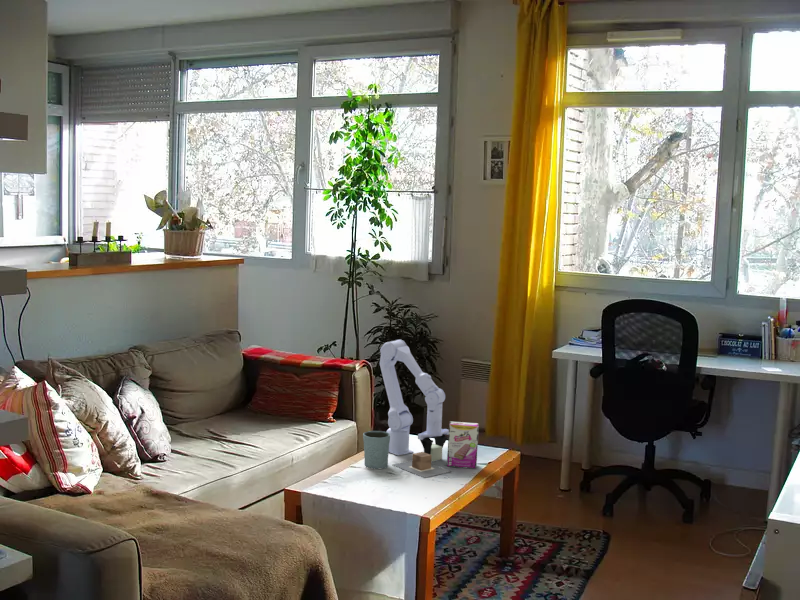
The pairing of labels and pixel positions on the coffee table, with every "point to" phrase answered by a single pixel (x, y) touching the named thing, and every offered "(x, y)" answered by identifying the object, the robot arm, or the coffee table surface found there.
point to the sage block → (436, 452)
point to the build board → (423, 473)
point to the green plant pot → (376, 449)
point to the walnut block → (421, 461)
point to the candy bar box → (462, 444)
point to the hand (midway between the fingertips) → (432, 455)
